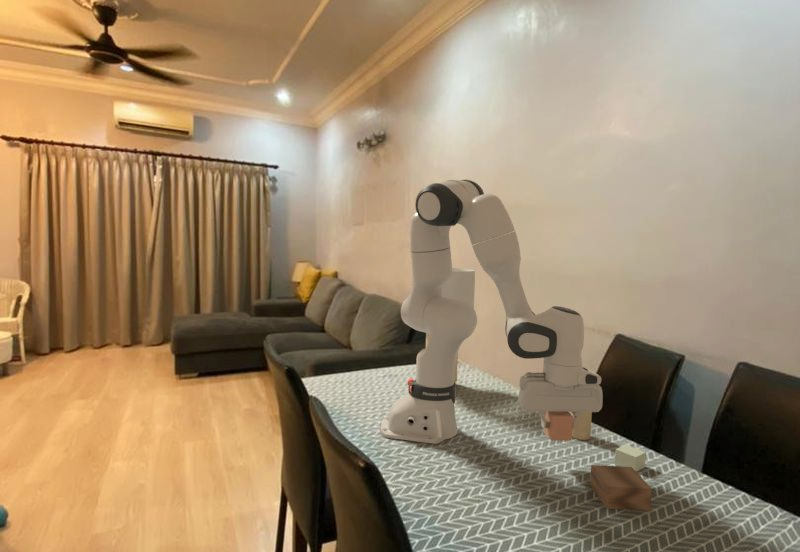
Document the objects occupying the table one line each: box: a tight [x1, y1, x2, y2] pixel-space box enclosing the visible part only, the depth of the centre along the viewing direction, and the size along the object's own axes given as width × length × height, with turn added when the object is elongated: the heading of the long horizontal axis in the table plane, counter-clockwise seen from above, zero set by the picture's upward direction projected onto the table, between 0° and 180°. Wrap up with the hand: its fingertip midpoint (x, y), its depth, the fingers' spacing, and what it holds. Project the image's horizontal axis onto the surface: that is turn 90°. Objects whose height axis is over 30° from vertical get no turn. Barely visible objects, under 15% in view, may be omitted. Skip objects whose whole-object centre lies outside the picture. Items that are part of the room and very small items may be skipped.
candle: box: [570, 412, 593, 441], centre depth 128 cm, size 6×6×10 cm
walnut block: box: [589, 464, 653, 512], centre depth 97 cm, size 9×9×5 cm
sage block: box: [614, 444, 647, 473], centre depth 111 cm, size 5×5×4 cm
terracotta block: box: [543, 411, 573, 442], centre depth 111 cm, size 5×5×6 cm
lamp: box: [425, 267, 476, 383], centre depth 169 cm, size 23×23×44 cm
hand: (557, 427), depth 111 cm, fingers closed on terracotta block, 5 cm apart
